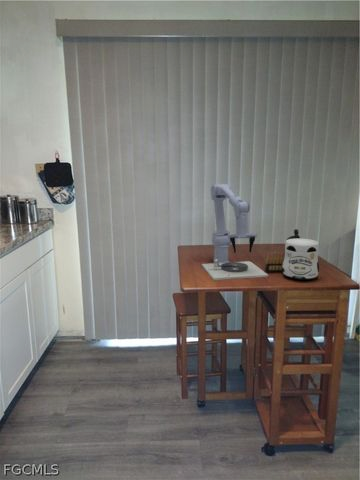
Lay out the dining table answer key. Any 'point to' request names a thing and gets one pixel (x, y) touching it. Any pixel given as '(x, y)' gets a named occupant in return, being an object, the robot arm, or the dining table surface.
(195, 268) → the dining table surface
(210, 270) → the dial plate
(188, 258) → the dining table surface
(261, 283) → the dining table surface
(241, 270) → the dial
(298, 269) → the milk container
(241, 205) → the robot arm
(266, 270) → the ammunition clip
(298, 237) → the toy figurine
